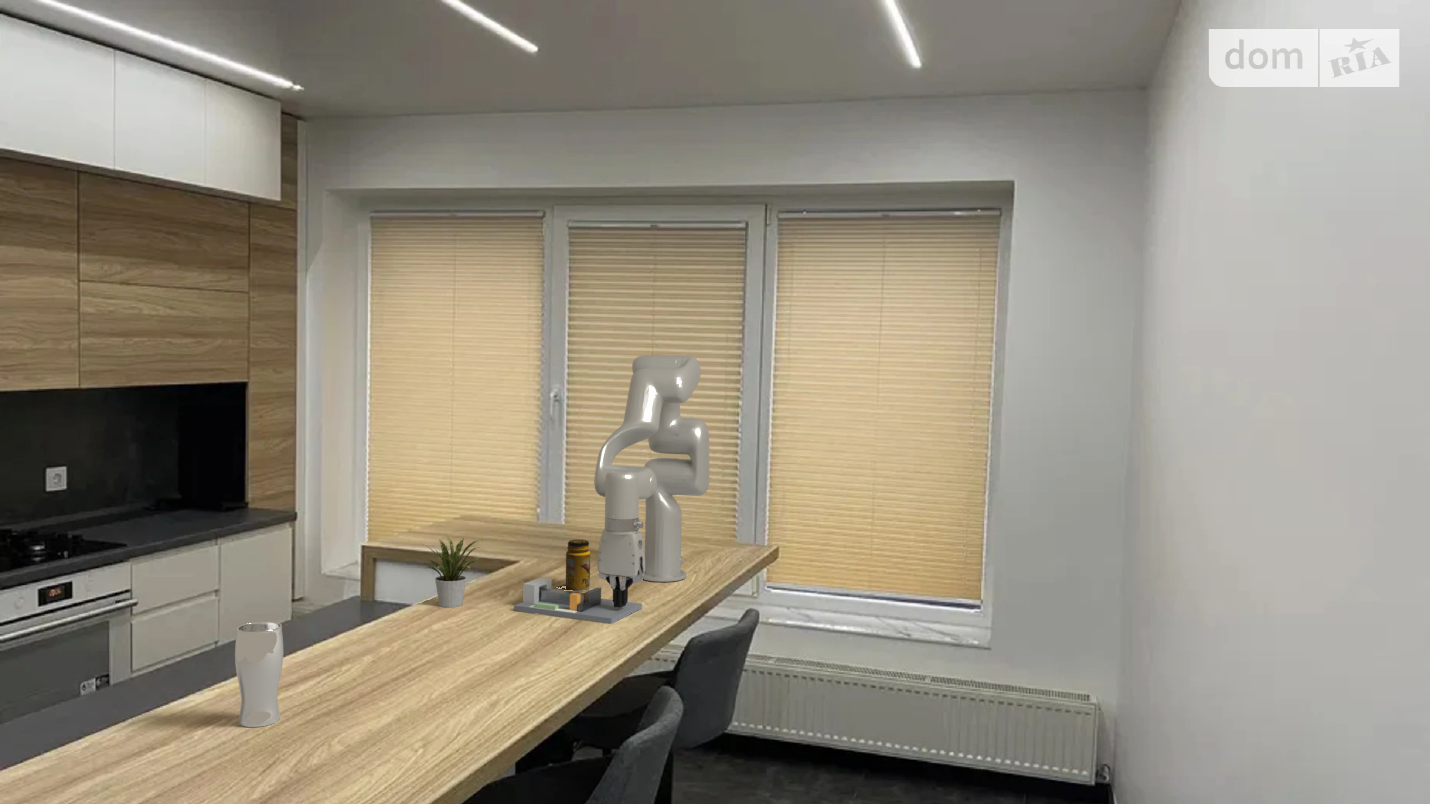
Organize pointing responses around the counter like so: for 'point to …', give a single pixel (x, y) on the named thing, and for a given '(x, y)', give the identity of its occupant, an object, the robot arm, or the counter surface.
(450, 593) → the house plant
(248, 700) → the beer glass
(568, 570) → the condiment
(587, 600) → the plunger
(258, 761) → the counter surface
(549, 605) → the board
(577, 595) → the orange block
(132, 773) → the counter surface
